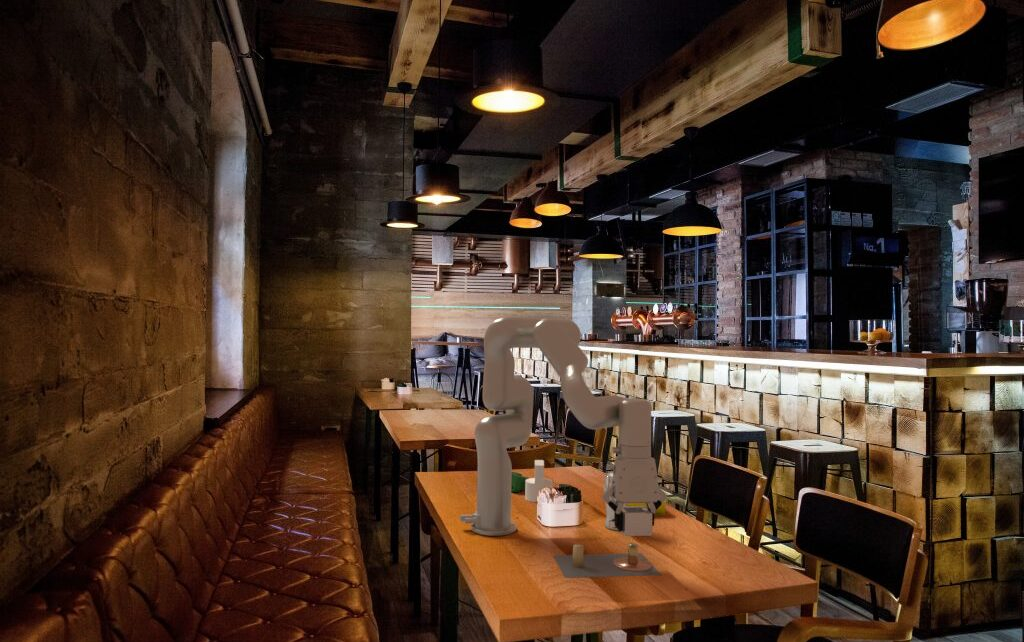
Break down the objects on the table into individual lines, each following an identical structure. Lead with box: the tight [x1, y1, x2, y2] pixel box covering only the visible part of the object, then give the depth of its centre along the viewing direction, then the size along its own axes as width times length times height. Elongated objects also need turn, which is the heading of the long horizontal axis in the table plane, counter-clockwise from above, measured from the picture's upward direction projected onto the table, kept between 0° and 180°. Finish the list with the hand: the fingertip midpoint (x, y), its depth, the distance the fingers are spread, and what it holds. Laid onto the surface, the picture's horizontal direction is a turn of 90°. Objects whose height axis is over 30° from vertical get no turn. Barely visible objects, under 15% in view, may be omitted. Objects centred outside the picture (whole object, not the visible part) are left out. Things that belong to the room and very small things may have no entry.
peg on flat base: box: [613, 542, 653, 571], centre depth 150 cm, size 9×9×4 cm
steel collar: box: [619, 506, 653, 537], centre depth 150 cm, size 6×6×5 cm
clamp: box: [511, 471, 530, 493], centre depth 226 cm, size 12×6×9 cm, turn 19°
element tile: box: [627, 501, 666, 517], centre depth 202 cm, size 15×15×5 cm
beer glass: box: [603, 471, 627, 531], centre depth 183 cm, size 7×7×15 cm
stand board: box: [553, 543, 662, 579], centre depth 149 cm, size 22×14×6 cm, turn 97°
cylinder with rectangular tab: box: [524, 459, 554, 503], centre depth 213 cm, size 9×9×12 cm
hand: (634, 528), depth 150 cm, fingers closed on steel collar, 6 cm apart
